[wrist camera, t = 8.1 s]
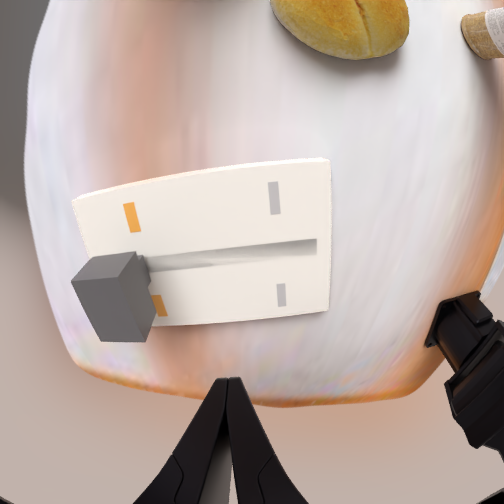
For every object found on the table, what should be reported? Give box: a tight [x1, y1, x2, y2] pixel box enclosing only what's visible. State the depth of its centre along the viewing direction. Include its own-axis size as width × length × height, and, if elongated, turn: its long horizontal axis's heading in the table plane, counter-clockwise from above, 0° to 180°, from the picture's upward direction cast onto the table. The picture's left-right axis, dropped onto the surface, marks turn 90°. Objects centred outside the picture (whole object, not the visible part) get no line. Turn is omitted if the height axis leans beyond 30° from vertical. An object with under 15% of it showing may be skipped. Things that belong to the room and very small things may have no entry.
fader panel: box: [72, 158, 332, 326], centre depth 18 cm, size 11×17×2 cm, turn 96°
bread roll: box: [270, 0, 409, 60], centre depth 10 cm, size 8×9×4 cm
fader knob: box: [71, 251, 157, 342], centre depth 15 cm, size 4×3×5 cm
